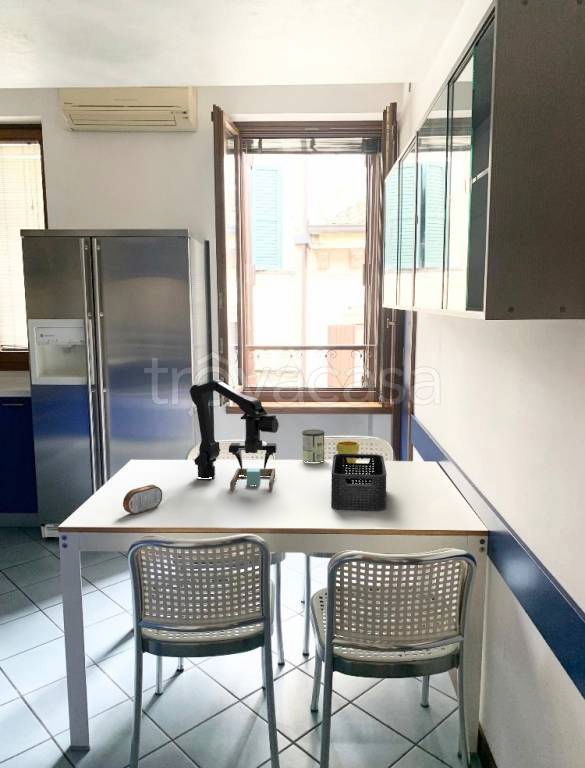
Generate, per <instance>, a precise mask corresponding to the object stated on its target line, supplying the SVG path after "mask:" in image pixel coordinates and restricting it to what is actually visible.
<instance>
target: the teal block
mask: <svg viewBox="0 0 585 768" xmlns="http://www.w3.org/2000/svg"><path fill="white" fill-rule="evenodd" d="M260 469H261V467H257V468H255V467H254V468H253V467H249V468H248V469H247V477H246V486H247V485H254V486H253V487H260V485H261V477H260ZM255 485H256V486H255Z"/></svg>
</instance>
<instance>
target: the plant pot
mask: <svg viewBox="0 0 585 768" xmlns="http://www.w3.org/2000/svg"><path fill="white" fill-rule="evenodd" d="M335 445H336V446H335V447H336V452H337V454H359V453H358V452H359V451H360V443H359V442H357V441H355V440H353V441H351V440H343V441H338V442H336V444H335ZM346 459H347V462H348V463H357V458H346ZM343 461H344V460H343Z"/></svg>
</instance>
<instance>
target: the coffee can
mask: <svg viewBox="0 0 585 768" xmlns="http://www.w3.org/2000/svg"><path fill="white" fill-rule="evenodd" d="M301 433H302V462H303V461H305V462H307V461H308V462H321V461H324V462H325V430H322V429H315V428H314V429H306V430H305V429H304V430H303V431H302V432H301Z"/></svg>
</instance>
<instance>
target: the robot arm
mask: <svg viewBox="0 0 585 768" xmlns="http://www.w3.org/2000/svg"><path fill="white" fill-rule="evenodd" d="M213 392H216V393H218V394H220V395H221V396H223V397H224V398H226V399H227V400H230V401H231V402H233V403H234V404H236V405H237V406H238V408H239V409H240V410H241V411H242V412H243V413H244V414H243V415H242V416H240V418H239V419H240V420H245V422H244V423H245V425H244V426H245V439H244V445H241V442H231V443H230V445H228V453H230V454H231V453H232V454H231V455H234V456H235V458H236V459H237V461H238V464H239V468H241V469H242V468H243V457H242V451H244V453H246V454H249V453H250V454H257V453H258V451H265V454H264V460H263V461H264V463H263V469H267V467H266V466H267V463H268V460H269V458H270V456H272V455H273V454H276V453H277V450H278V449H277V448H278V445H277V444H276V442H270V443H269V442H268V443H266V445H263V440H261V432H263V433H271V434H272V433H273V434H276V433H277V432H278V430H279V427H280V425H279V421H278V418H277V415H275V414H274V415H273V414H272V415H269V414H267V412H266V410H265V408H264V406H262V405H263V404H262V402H261V400H260V399H258V398H256V397H254V396H253V397H252V396H250V395H246V394H243V393H242V392H240V391H239V390H236V389H235V388H234V387H231V386H230V385H228V384H226V383H225V382H223V381H222V380H221V379H215V380H211V381H208V382H207V383H205V382H203V383H202V382H201V383H197V384H193V385H192V386H191V388H189V394H190V398H191V400H192V402H193V403H194V405H195V407H196V414H197V420H198V425H199V432H200V433H199V434H200V439H201V440H200V444H199V448H198V449H199V450H198V451H199V453H198V455H197V456H196V458H194V461H193V462H194V465H195V466H197V477H201V478H209V477H214V478H215V477H216V466H215V465H214V464H215V463H214V462H216V461H217V458H218V457H219V456H220V452H221V448H220V442H219V441H216V440H215V438H214V433H213V429H212V428H213V427H212V422H211V414H210V408H209V403H210V400H211V393H213Z"/></svg>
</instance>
